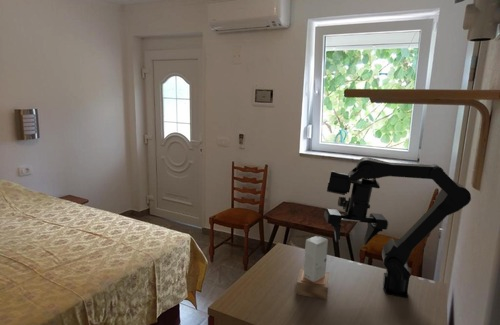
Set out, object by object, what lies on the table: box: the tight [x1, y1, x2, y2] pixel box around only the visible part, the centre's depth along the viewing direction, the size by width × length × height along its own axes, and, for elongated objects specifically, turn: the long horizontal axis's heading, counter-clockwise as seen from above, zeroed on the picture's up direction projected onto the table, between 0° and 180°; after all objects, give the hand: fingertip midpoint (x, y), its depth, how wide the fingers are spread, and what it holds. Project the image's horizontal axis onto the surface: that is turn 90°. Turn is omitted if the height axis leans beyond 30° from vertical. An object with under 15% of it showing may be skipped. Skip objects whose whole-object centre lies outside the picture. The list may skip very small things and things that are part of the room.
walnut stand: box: [295, 267, 330, 301], centre depth 103 cm, size 9×9×4 cm
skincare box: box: [303, 235, 329, 282], centre depth 101 cm, size 6×4×12 cm
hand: (350, 242), depth 107 cm, fingers open, 9 cm apart
